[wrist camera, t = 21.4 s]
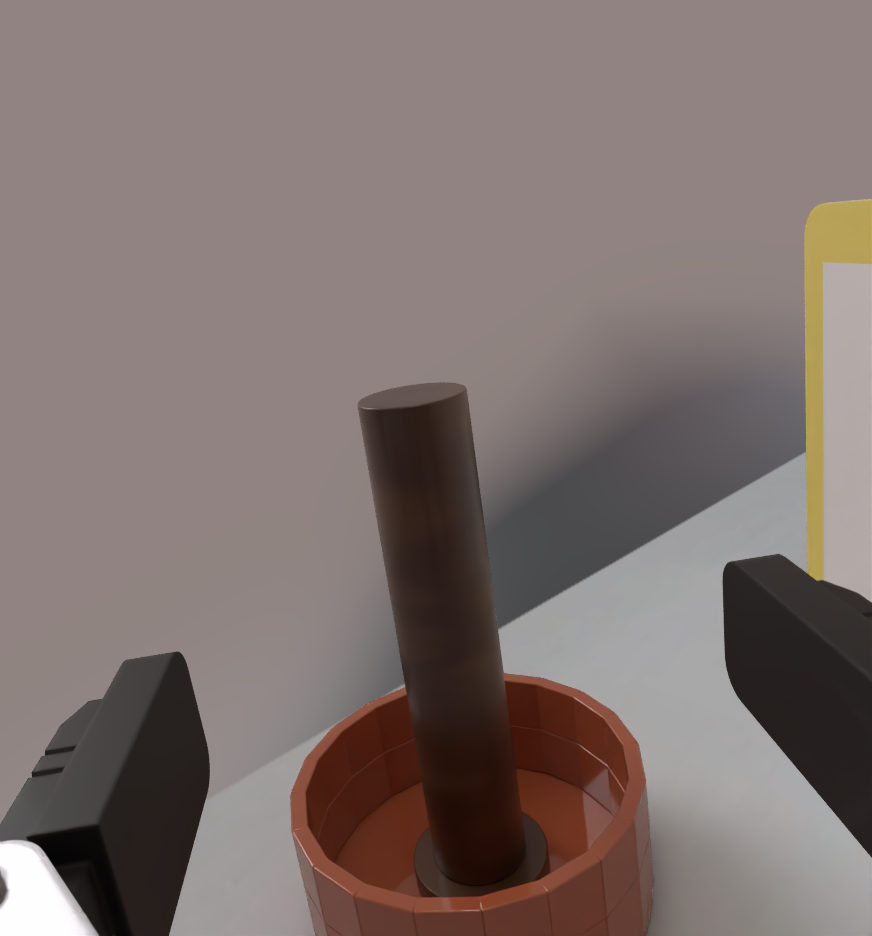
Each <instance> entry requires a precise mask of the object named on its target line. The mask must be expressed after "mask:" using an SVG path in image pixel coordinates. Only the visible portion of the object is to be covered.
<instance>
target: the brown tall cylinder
mask: <svg viewBox="0 0 872 936" xmlns="http://www.w3.org/2000/svg"><path fill="white" fill-rule="evenodd" d="M358 411H359V416H360V423H361V429H362V435H363V441H364V447H365V452H366V457H367V464H368V470H369V476H370V482H371V487H372V493H373V499H374V505H375V511H376V517H377V523H378V529H379V534H380V540H381V546H382V552H383V558H384V564H385V570H386V576H387V581H388V587H389V593H390V599H391V604H392V611H393V616H394V622H395V628H396V634H397V640H398V646H399V652H400V658H401V663H402V669H403V675H404V681H405V687H406V693H407V699H408V705H409V710H410V716H411V722H412V728H413V734H414V740H415V746H416V751H417V757H418V763H419V769H420V775H421V781H422V787H423V792H424V798H425V804H426V810H427V816H428V822H429V826H428V827H427V828H426V829H425V831H424V832H423V833H422V835H421V836H420V838H419V840H418V842H417V845H416V848H415V851H414V868H415V874H416V879H417V885H418V889H419V891H420V894H421V896H422V897H471V896H483V895H486V894H490V893H493V892H497V891H501V890H504V889H508V888H511V887H515V886H518V885H522V884H526V883H529V882H533V881H536V880H539V879H541V878H543V877H544V876H546V875H548V874H549V873H550V860H549V852H548V844H547V840H546V837H545V834H544V832H543V830H542V829H541V827H540V826H539V825H538V823H537V822H536V821H535V820H534V819H533V818H531V817H530V816H529V815H527V814H526V813H524V812H522V811H521V803H520V796H519V788H518V780H517V773H516V765H515V757H514V749H513V742H512V734H511V726H510V719H509V711H508V703H507V696H506V688H505V680H504V672H503V665H502V657H501V649H500V642H499V634H498V626H497V619H496V611H495V604H494V596H493V588H492V580H491V573H490V565H489V557H488V549H487V542H486V534H485V526H484V519H483V511H482V504H481V497H480V496H481V495H480V488H479V480H478V473H477V465H476V457H475V450H474V442H473V434H472V426H471V418H470V411H469V403H468V396H467V389H466V387H465V386H463V385H460V384H456V383H426V384H417V385H409V386H404V387H398V388H393V389H389V390H385V391H381V392H378V393H374V394H372V395H369V396H367V397H365V398H363V399H361V400H360V401H359V402H358Z"/></svg>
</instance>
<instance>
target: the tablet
mask: <svg viewBox="0 0 872 936" xmlns="http://www.w3.org/2000/svg"><path fill="white" fill-rule="evenodd" d="M804 242H805V356H806V358H805V359H806V474H807V571H808V574H809V575H810V576H811V577H813V578H814V579H815V580H817V581H819V580H824V581H827V582H830V583H832V584H835V585H838V586H841V587H843V588H846V589H849V590H852V591H854V592H857V593H859V594H860V595H862V596H863V597H865V598H866V599H867V600H869V601H870V602H872V199H867V200H855V201H842V202H831V203H823V204H820V205H818V206H816V207H815V208H814V209H813V210H812V212H811V213H810V215H809V217H808V220H807V223H806V227H805V241H804Z"/></svg>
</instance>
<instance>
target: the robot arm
mask: <svg viewBox="0 0 872 936" xmlns="http://www.w3.org/2000/svg"><path fill="white" fill-rule="evenodd" d="M723 608H724V642H725V661H726V667H727V672H728V675H729V679H730V682H731V684H732V687H733V689H734V691H735V693H736V695H737V696H738V698H739V699H740V700H741V702H742V703H743V704H744V705H745V707H746V708H747V709H748V710H749V711H750V712H751V714H752V715H753V716H754V717H755V718H756V720H757V721H758V722H759V723H760V724H761V726H762V727H763V728H764V729H765V730H766V732H767V733H768V734H769V735H770V736H771V738H772V739H773V740H774V741H775V742H776V744H777V745H778V746H779V747H780V748H781V750H782V751H783V752H784V753H785V754H786V756H787V757H788V758H789V759H790V760H791V762H792V763H793V764H794V765H795V766H796V768H797V769H798V770H799V771H800V772H801V774H802V775H803V776H804V777H805V778H806V780H807V781H808V782H809V783H810V784H811V786H812V787H813V788H814V789H815V790H816V791H817V793H818V794H819V795H820V796H821V797H822V799H823V800H824V801H825V802H826V803H827V805H828V806H829V807H830V808H831V809H832V811H833V812H834V813H835V814H836V815H837V817H838V818H839V819H840V820H841V821H842V823H843V824H844V825H845V826H846V827H847V829H848V830H849V831H850V832H851V833H852V835H853V836H854V837H855V838H856V839H857V841H858V842H859V843H860V844H861V845H862V847H863V848H864V849H865V850H866V851H867V853H868V854H869V855H870V856H871V857H872V602H870V601H869V600H867V599H866V598H865V597H863V596H862V595H860V594H859V593H857V592H854V591H852V590H849V589H846V588H843V587H841V586H838V585H835V584H832V583H830V582H827V581H824V580H819V581H817V580H815V579H814V578H813V577H811V576H810V575H809V574H807V573H806V572H805V571H803V570H802V569H800V568H799V567H798V566H796V565H795V564H794V563H792V562H791V561H790V560H788V559H787V558H786V557H784V556H782V555H780V554H775V555H769V556H763V557H756V558H750V559H744V560H738V561H732V562H729V563H727V564H726V566H725V568H724V572H723ZM209 765H210V764H209V753H208V747H207V742H206V738H205V734H204V730H203V726H202V722H201V718H200V714H199V711H198V706H197V702H196V698H195V695H194V691H193V686H192V683H191V679H190V675H189V670H188V667H187V664H186V661H185V659H184V657H183V655H182V654H181V653H180V652H172V653H165V654H159V655H153V656H147V657H141V658H135V659H129V660H125V661H124V662H123V663H122V665H121V667H120V668H119V670H118V672H117V674H116V676H115V678H114V679H113V681H112V683H111V685H110V686H109V688H108V690H107V692H106V694H105V695H104V697H103V699H99V700H93V701H88V702H87V703H86V704H85V705H84V706H83V707H81V708H80V709H79V710H78V711H77V712H76V713H75V714H73V715H72V716H71V717H70V718H69V719H67V720H66V721H65V722H64V723H63V724H62V725H61V726H60V727H59V729H58V730H57V732H56V734H55V735H54V737H53V739H52V740H51V742H50V744H49V745H48V747H47V748H46V750H45V756H42V757H41V758H40V760H39V762H38V763H37V765H36V767H35V768H34V770H33V771H32V778H28V779H27V781H26V783H25V784H24V786H23V788H22V789H21V791H20V793H19V794H18V796H17V797H16V799H15V801H14V802H13V804H12V806H11V807H10V809H9V811H8V812H7V814H6V816H5V817H4V819H3V820H2V822H1V824H0V936H169V933H170V929H171V925H172V922H173V918H174V914H175V911H176V907H177V903H178V900H179V896H180V892H181V888H182V885H183V881H184V877H185V874H186V870H187V866H188V863H189V859H190V855H191V851H192V848H193V844H194V840H195V837H196V833H197V829H198V826H199V822H200V818H201V814H202V811H203V807H204V803H205V800H206V795H207V792H208V787H209V778H210V777H209V776H210V766H209Z"/></svg>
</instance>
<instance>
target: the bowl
mask: <svg viewBox="0 0 872 936" xmlns="http://www.w3.org/2000/svg"><path fill="white" fill-rule="evenodd" d="M504 680H505V688H506V696H507V703H508V711H509V719H510V726H511V734H512V742H513V749H514V757H515V765H516V773H517V780H518V788H519V796H520V803H521V811H522V812H524V813H526V814H527V815H529V816H530V817H531V818H533V819H534V820H535V821H536V822H537V823H538V825H539V826H540V827H541V829H542V830H543V832H544V834H545V837H546V840H547V844H548V852H549V860H550V873H549V874H548V875H546V876H544V877H543V878H541V879H539V880H536V881H533V882H529V883H526V884H522V885H518V886H515V887H511V888H508V889H504V890H501V891H497V892H493V893H490V894H486V895H483V896H471V897H422V896H421V894H420V891H419V889H418V885H417V879H416V874H415V868H414V851H415V848H416V845H417V842H418V840H419V838H420V836H421V835H422V833H423V832H424V831H425V829H426V828H427V827H428V826H429V822H428V816H427V810H426V804H425V798H424V792H423V787H422V781H421V775H420V769H419V763H418V757H417V751H416V746H415V740H414V734H413V728H412V722H411V716H410V710H409V705H408V699H407V693H406V687H405V688H402V689H400V690H398V691H395V692H393V693H391V694H388V695H386V696H384V697H381V698H379V699H377V700H374V701H372V702H370V703H368V704H366V705H365V706H363V707H362V708H360V709H359V710H357V711H356V712H355V713H353V714H352V715H350V716H349V717H347V718H346V719H344V720H343V721H341V722H340V723H338V724H337V725H336V726H334V727H333V728H332V729H331V730H330V731H329V732H328V733H327V734H326V736H325V737H324V738H323V739H322V740H321V741H320V742H319V743H318V745H317V746H316V747H315V748H314V749H313V750H312V751H311V753H310V754H309V755H308V756H307V757H306V759H305V760H304V763H303V765H302V768H301V770H300V772H299V775H298V777H297V780H296V782H295V784H294V787H293V789H292V792H291V796H290V800H291V829H292V835H293V840H294V844H295V848H296V853H297V857H298V861H299V866H300V870H301V874H302V879H303V883H304V887H305V892H306V896H307V900H308V905H309V909H310V913H311V918H312V922H313V926H314V931H315V935H316V936H645V935H646V932H647V929H648V926H649V922H650V917H651V910H652V902H653V899H652V889H653V882H654V881H653V868H652V855H651V841H650V828H649V814H648V801H647V788H646V778H645V773H644V768H643V763H642V758H641V753H640V749H639V744H638V743H637V741H636V740H635V738H634V737H633V736H632V734H631V733H630V732H629V730H628V729H627V728H626V727H625V725H624V724H623V723H622V721H621V720H620V719H619V717H618V716H617V715H616V714H615V713H614V712H613V711H612V710H610V709H609V708H607V707H605V706H604V705H602V704H601V703H599V702H598V701H596V700H595V699H593V698H592V697H590V696H589V695H587V694H586V693H584V692H581V691H580V690H577V689H574V688H571V687H568V686H565V685H562V684H559V683H556V682H553V681H550V680H547V679H544V678H540V677H531V676H523V675H514V674H506V673H504Z"/></svg>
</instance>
